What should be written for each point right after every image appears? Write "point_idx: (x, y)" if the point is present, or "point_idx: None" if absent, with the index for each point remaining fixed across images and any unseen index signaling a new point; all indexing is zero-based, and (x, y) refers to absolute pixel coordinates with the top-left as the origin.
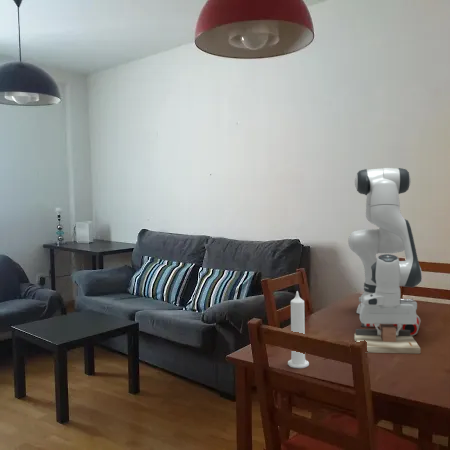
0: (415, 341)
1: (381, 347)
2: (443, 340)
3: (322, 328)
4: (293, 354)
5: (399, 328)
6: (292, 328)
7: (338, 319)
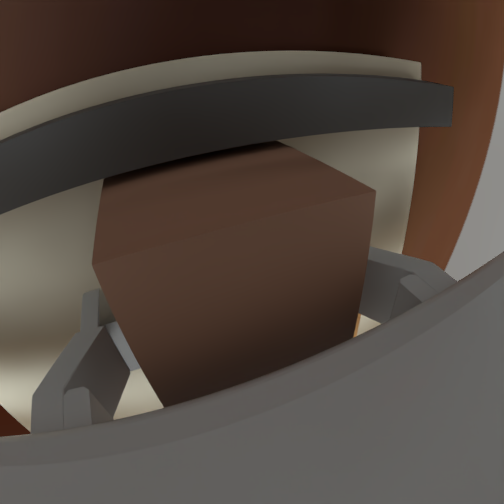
0: (402, 244)
1: None
2: (497, 85)
3: None
4: None
5: (383, 317)
6: None
7: None
